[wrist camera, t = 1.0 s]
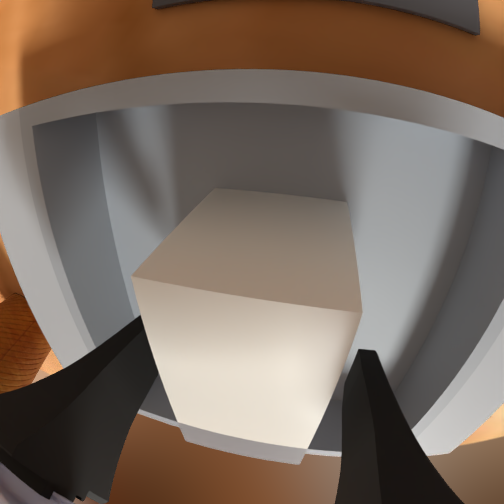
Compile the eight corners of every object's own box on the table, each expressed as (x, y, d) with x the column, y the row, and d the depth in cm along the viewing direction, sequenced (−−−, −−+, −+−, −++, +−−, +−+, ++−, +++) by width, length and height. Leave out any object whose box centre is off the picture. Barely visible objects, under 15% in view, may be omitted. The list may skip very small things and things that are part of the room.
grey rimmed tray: (563, 153, 7) (618, 185, 3) (442, 405, 16) (448, 453, 13) (36, 107, 11) (-23, 125, 8) (100, 348, 20) (74, 385, 17)
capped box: (347, 202, 11) (362, 313, 6) (313, 362, 15) (299, 464, 10) (215, 187, 11) (130, 276, 6) (223, 347, 16) (185, 440, 11)
